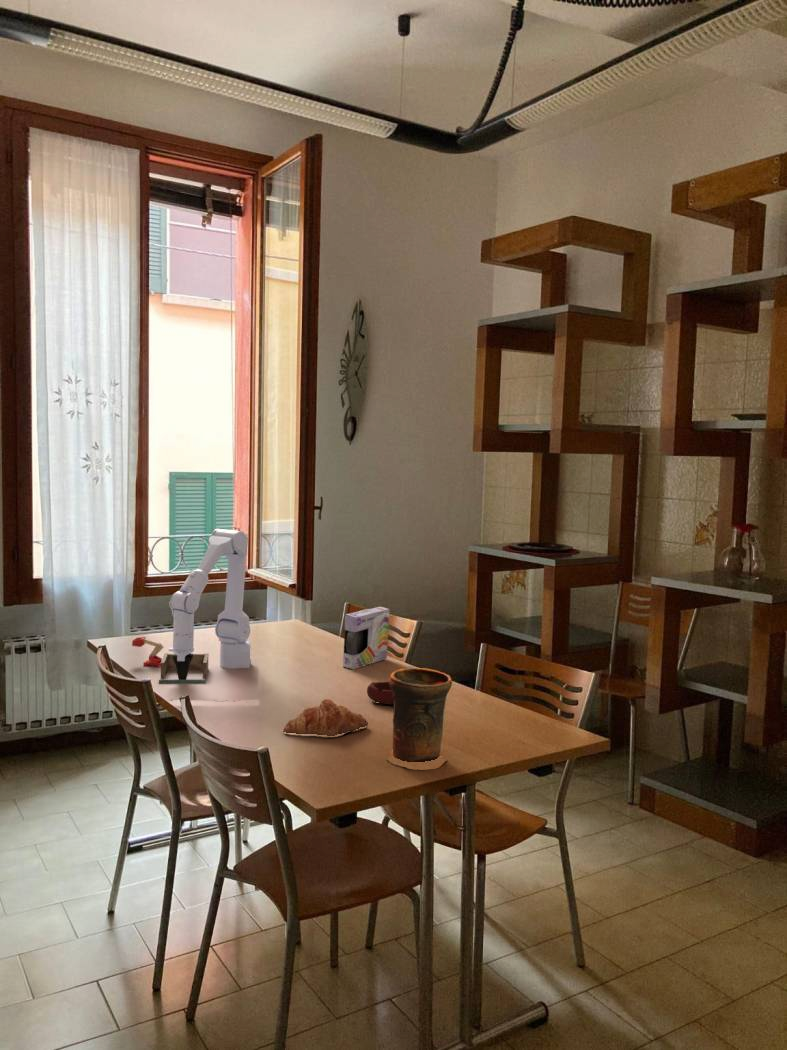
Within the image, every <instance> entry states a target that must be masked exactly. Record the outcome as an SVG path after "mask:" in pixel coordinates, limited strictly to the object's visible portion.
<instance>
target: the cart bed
mask: <svg viewBox="0 0 787 1050" xmlns="http://www.w3.org/2000/svg"><path fill="white" fill-rule="evenodd" d="M192 654H193V658H192V660H191V662H190V665H189V669H188V671H195V670H196V671H202V679H206V680H207V676H208V671H209V653H192ZM173 655H175V653H164V655H163V656H162V661H161V667H160V679H166V674H167V672H168V670H169V671H177V668H176V665H175V662H174V661H173Z"/></svg>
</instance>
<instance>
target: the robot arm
mask: <svg viewBox="0 0 787 1050" xmlns="http://www.w3.org/2000/svg"><path fill="white" fill-rule="evenodd" d="M248 545H249V537H248V536H247V534H246V533H245V532H244V531H242V530H231V529H224V528H223V529H222V528H215V529H214V530H213V531H212V532H211V535H210V536H209V538H208V548H207V549H206V551H205V554H204V555H203V558H202V560H201V562H200V564H198V567H197V569H194V570H193V569H192V570H191V572H190V573H189V574H188V576H187V578H186V580H185V581H184V583H183V584H182V586H181V587H180V589H179V590H177V591H176V592H174V593H173V594H172V595H171V597H170V600H169V602H168V604H169V608H170V609H171V616H172V617H173V627H172V628H173V634H172V647H170V646H169V647H168V652H172V653H173V654H175V655H173V661H174V662H175V665H176V668H177V670H176V675H177V679H179V680H186V679H188V673H189V670H188V669H189V665H190V662H191V660H192V658H193V654H194V653H193V652H194V651H195V648H194V642H195V641H194V639H195V637H194V633H195V632H194V631H195V612H196V611H197V610H198V609H199V606H200V600H201V597H202V596H201V595H202V593H203V591H204V589H205V588H206V586H207V585H208V583H209V581H210V580H209V574H210V572H211V571H212V570H213V569H214V567H216V565H217V563H218V562H219V561H220V560H221V557H223V556H225V557H226V558H227V560H228V564H227V572H226V573H227V575H226V587H225V601H224V602H225V603H224V610H223V611H221V612H220V613H219V614H218V615H217V621H216V623H215V627H214V633H215V635H216V637H217V638H218V641H220V653H219V654H220V655H219V658H220V659H219V666H220V667H221V668H224V669H233V670H234V669H250V668H251V667H250V666H251V665H252V659H251V641H248V639H249V637H250V635H251V625H250V617H249V616H248V614H247V613H245V612H244V610H243V608H244V606H243V605H244V604H243V603H244V593H245V578H246V566H247V556H248Z"/></svg>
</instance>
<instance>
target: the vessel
mask: <svg viewBox="0 0 787 1050" xmlns="http://www.w3.org/2000/svg"><path fill="white" fill-rule="evenodd" d="M388 682H389V685H390V687H391V689H392V691H393V699H394V705H393V717H392V726H393V727H392V749H391V750H392V751H391V754H393V756H394V757H395V758H397V759H400V760H402V761H407V762H425V761H431V760H435V759H437V758H438V757H439V756H440V755H441V747H442V742H443V741H442V740H443V731H444V730H443V729H444V714H445V713H444V712H445V708H446V700H447V696H448V693H449V692H450V690H451V688H452V685H453V679H452V677H451V676H450V675H449V674H446V673H445V672H441V671H439V670H435V669H430V668H424V667H422V668H421V667H411V668H401V669H397V670H394V671H393V672H391V674H390V676H389V679H388ZM440 757H441V756H440Z"/></svg>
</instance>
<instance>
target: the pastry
mask: <svg viewBox="0 0 787 1050" xmlns="http://www.w3.org/2000/svg"><path fill="white" fill-rule="evenodd" d="M368 725H369V722H368V721H367V719H366V718H364V716H363V715H362V714H361V713H357V712H353V711H351V710H349V708H347V707H346V706H343V705H337V704H336V703H335V702H334V701H333V700H332V699H328V698H327V699H326V698H325V699H323V700H322V701H321V702H320V704H319V706H314V707H308V708H305V709H304V710H303V711H302V712H301V713H300V714H298V715H297V716H296V717H295V718H294V719H290V720H289V721H288V722H286V725H285V726H284V728H283V733H284V732H286V733H296V734H317V735H327V736H335V735H337V734H342V733H346V732H348V731H354V730H356V729H359V728H360V727H365V726H367V727H368Z"/></svg>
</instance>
